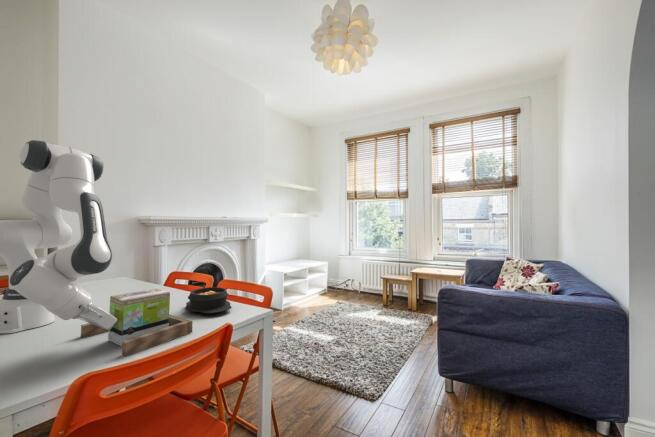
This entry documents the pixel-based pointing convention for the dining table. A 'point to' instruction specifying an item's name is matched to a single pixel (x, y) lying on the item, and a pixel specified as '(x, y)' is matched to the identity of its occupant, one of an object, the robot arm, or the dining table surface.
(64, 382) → the dining table surface
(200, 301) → the casserole
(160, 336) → the dock
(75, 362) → the dining table surface
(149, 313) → the tea box
